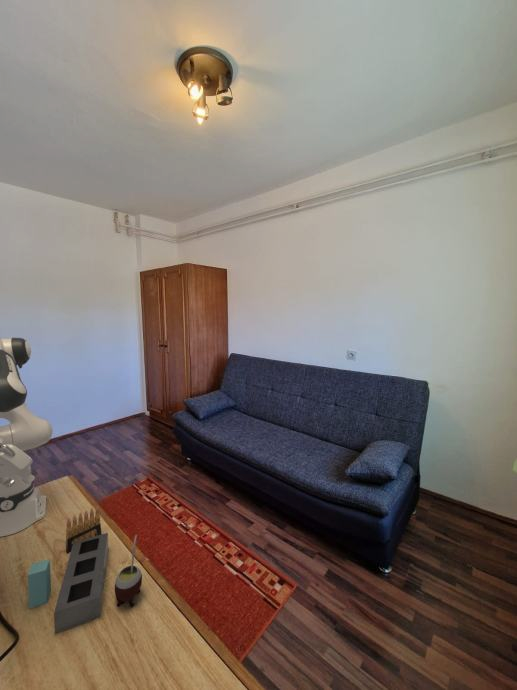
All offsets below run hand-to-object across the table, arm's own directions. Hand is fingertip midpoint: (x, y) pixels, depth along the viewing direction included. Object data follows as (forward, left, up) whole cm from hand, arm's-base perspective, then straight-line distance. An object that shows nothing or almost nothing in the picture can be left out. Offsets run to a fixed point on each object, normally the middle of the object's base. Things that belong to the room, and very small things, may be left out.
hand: (21, 483), depth 75 cm
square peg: (+2, +3, -35) cm, 35 cm away
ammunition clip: (-16, +11, -35) cm, 40 cm away
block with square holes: (+2, +14, -35) cm, 37 cm away
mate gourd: (+11, +27, -35) cm, 45 cm away
